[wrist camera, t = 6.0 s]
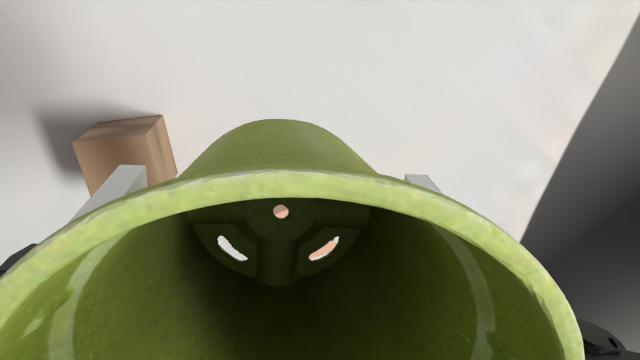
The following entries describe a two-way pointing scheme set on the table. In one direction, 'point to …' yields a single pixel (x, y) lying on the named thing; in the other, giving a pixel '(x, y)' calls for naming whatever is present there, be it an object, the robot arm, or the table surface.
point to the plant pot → (283, 268)
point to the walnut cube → (125, 150)
